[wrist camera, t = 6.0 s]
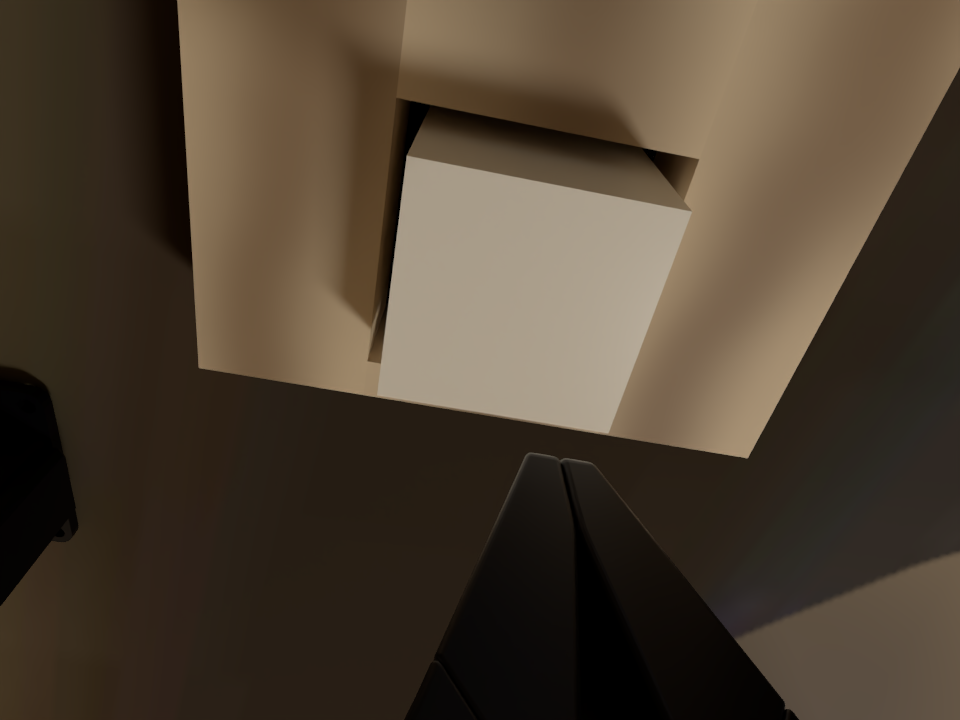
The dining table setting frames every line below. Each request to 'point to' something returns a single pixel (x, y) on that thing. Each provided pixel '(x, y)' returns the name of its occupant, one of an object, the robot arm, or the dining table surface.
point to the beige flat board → (569, 108)
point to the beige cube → (525, 269)
